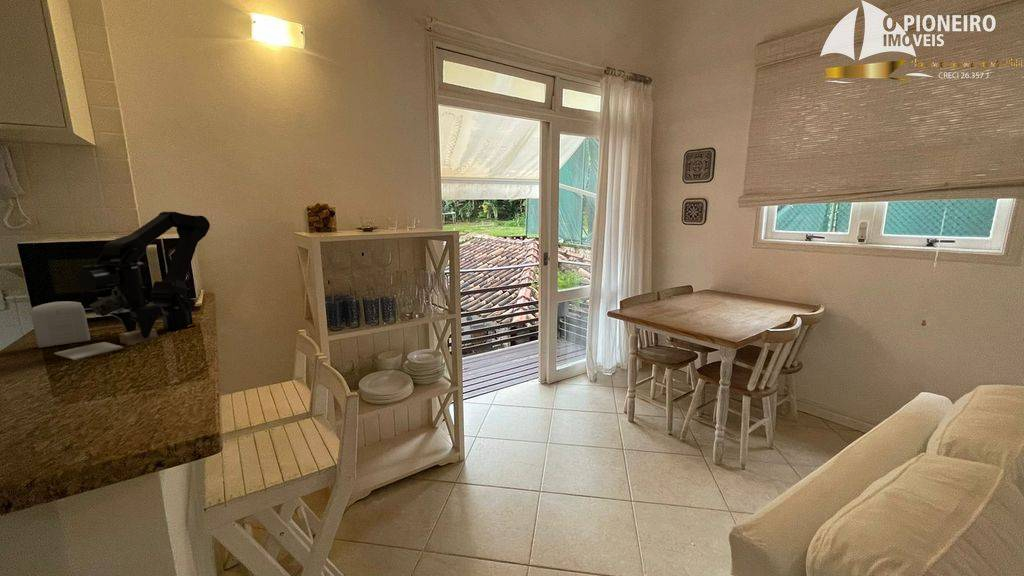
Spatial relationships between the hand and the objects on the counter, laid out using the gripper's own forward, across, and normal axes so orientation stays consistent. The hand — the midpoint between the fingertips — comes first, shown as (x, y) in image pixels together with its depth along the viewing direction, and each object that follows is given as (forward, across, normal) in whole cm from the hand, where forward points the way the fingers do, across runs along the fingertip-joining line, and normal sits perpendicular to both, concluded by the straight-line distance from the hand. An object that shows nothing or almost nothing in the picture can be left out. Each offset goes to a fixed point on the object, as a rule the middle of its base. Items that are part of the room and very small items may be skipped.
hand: (138, 336), depth 117 cm
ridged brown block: (+2, 0, 0) cm, 2 cm away
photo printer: (+2, -16, -10) cm, 19 cm away
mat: (+1, -1, -10) cm, 11 cm away
